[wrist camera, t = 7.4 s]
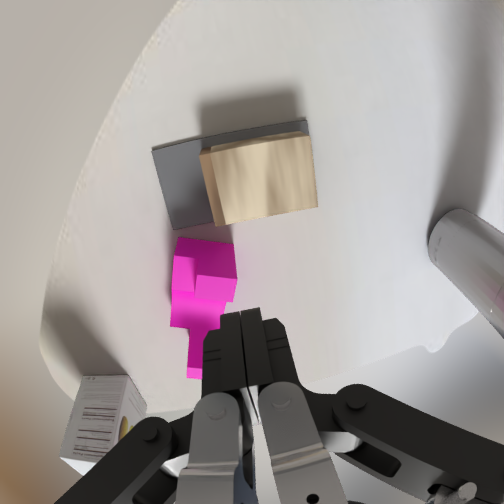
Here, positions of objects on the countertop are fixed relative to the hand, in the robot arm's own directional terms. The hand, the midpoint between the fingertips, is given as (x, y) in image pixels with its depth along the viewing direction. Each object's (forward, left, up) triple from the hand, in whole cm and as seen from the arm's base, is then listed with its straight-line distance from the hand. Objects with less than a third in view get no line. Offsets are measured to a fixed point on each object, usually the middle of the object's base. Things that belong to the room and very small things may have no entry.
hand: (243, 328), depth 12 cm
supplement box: (+27, +31, -23) cm, 47 cm away
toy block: (+7, +14, -23) cm, 28 cm away
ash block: (+2, 0, -20) cm, 20 cm away
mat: (-1, 0, -23) cm, 23 cm away
